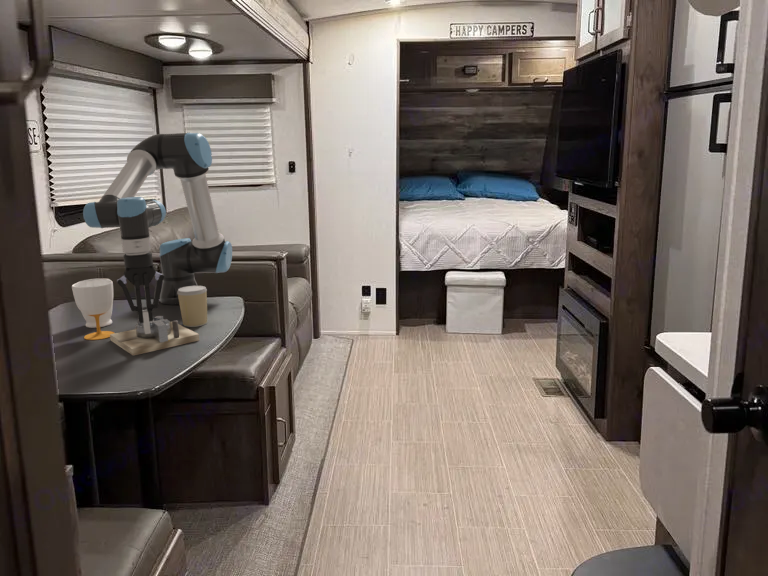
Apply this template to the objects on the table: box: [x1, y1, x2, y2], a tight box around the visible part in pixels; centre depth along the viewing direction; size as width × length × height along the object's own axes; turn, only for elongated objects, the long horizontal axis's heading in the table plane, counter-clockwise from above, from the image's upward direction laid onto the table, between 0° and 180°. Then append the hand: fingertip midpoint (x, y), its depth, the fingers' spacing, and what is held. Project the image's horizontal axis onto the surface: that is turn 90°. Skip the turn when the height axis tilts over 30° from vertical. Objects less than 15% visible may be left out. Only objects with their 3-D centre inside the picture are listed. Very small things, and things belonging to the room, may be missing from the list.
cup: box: [71, 279, 115, 341], centre depth 204 cm, size 12×12×17 cm
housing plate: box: [109, 320, 200, 357], centre depth 198 cm, size 20×20×7 cm
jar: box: [76, 277, 114, 329], centre depth 217 cm, size 11×10×15 cm
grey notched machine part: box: [135, 315, 171, 343], centre depth 195 cm, size 16×10×5 cm, turn 34°
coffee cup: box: [177, 285, 208, 328], centre depth 215 cm, size 9×9×12 cm
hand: (147, 332), depth 189 cm, fingers closed
